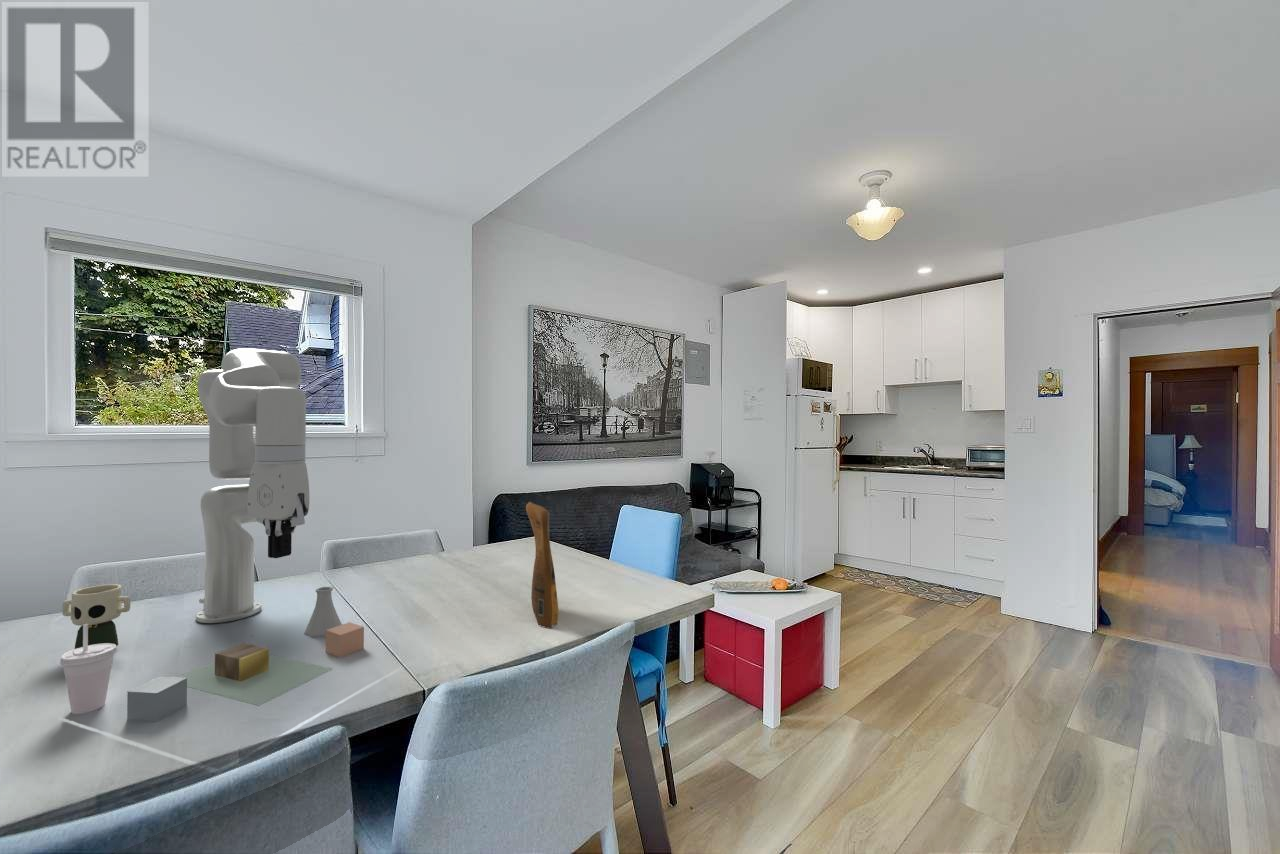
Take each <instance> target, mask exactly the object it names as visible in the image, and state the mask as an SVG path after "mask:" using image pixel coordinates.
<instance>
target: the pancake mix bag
mask: <svg viewBox="0 0 1280 854" xmlns="http://www.w3.org/2000/svg"><path fill="white" fill-rule="evenodd" d="M525 511H526V514H527V516H528V519H529V521H530V522H529V523H530V526H531V529H532V532H533V536H534V542H535V543H534V544H535V558H534V564H533V571H532V581H531V594H530V595H531V596H530V597H531V606H532V607H531V608H532V611H533V614H534V616H535V619H536V622H537V624H538V626H539V625H541V626H540V627H542V626H545V627H544V628H546V627H549V628H548V629H553V626H556V625H557V624H558V619H559V602H558V593H557V583H556V573H555V566H554V562H553V561H554V560H553V554H552V549H551V540H550V516H551V515H550V514H551V513H550V512H549V510H547V509H546V508H545V507H544V506H541V505H540V504H539V505H538V504H535V503H533V502H531V501H529V502H528V503H526V505H525ZM555 624H556V625H555ZM552 625H553V626H552Z"/></svg>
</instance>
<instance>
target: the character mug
mask: <svg viewBox="0 0 1280 854" xmlns="http://www.w3.org/2000/svg"><path fill="white" fill-rule="evenodd" d="M122 589H123V588H122V585H121V584H116V583H113V584H109V583H108V584H100V585H93V586H88V587H84V588H79V589H77V590H74V591H73V592H72V593H71V598H70V599H66V600H63V602H62V609H61V611H62V616H64V617H70V620H71V623H72V624H73V625H75V626H79V628H78V629H77V633H76V638H75V642H74V643H75V644H74V649H77V648H81V647H83V625H84V624H88V646H89V645H94V644H102V643H111V644H115V645H116V648H117V647H118V646H119V639H118V638H119V637H118V632H117V627H116V624H115V622H114V621H113V620H116V619H117V618H119V617H120V616H121V614H122V613H127V612H130V610H131V596H129V595H122ZM122 602H123V607H122Z"/></svg>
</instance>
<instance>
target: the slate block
mask: <svg viewBox="0 0 1280 854" xmlns="http://www.w3.org/2000/svg"><path fill="white" fill-rule="evenodd" d="M126 696H127V699H126V700H127V703H126V704H127V708H126V709H127V710H126V711H127V712H126V713H127V714H126V721H132V722H135V721H136V722H150V723H158V722H159V721H161V720H163V719H165V718H166V717H168V716H170V715H172V714H174V713H175V712H177V711H178V710H181V709H182V708H184V707H186V706H187V705H188V702H187V701H188V687H187V678H181V677H176V676H161V675H160V676H157V677H155V678H153V679H150V680H149V681H148V680H147V682H145V683H142V684H140V685H138V686H136V687H134V688H132V689H129V690H128V691H127V694H126Z"/></svg>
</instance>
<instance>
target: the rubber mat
mask: <svg viewBox="0 0 1280 854" xmlns="http://www.w3.org/2000/svg"><path fill="white" fill-rule="evenodd" d="M332 670H333V668H331V667H326V666H322V665H318V664H314V663H309V662H303V661H299V660H295V659H290V658H285V657H281V656H278V655H277V656H276V655H272V654H269V670H266V671H264V672H262V673H260V674H257V675H255V676H253V677H250V678H248V679H246V680H244V681H237V680H233V679H229V678H225V677H220V676H216V675H215V661H212V662H210V663H207V664H204V665H201V666H200V667H196V668H194V669H192V670H190V671H186V672H184V673H181V674H179V675H176V676H175V677H181V678H187V688H190V689H193V690H199V691H202V692H205V693H210V694H213V695H217V696H220V697H224V698H228V699H230V700H231V699H232V700H235V701H239V702H243V703H247V704H251V705H254V706H258V707H259V706H261V705H263V704H265V703H267V702H269V701H271V700H273V699H275V698H277V697H280V696H281V695H283V694H285V693H287V692H289V691H291V690H293V689H296V688H299V687H300V686H301V685H304V684H306V683H307V682H310V681H312V680H314V679H316V678H319V676H322V675H323V674H325V673H328V672H330V671H332Z"/></svg>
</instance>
